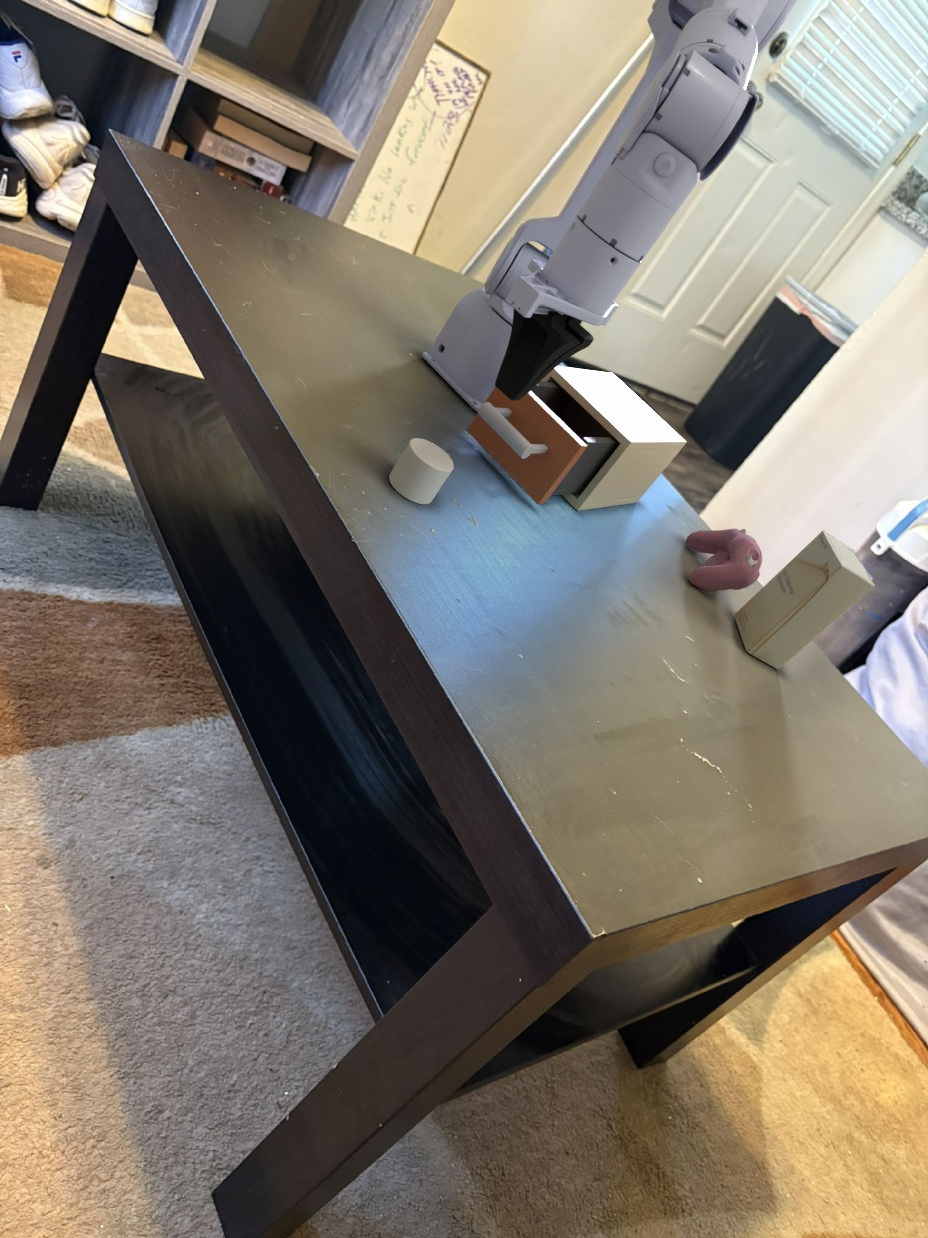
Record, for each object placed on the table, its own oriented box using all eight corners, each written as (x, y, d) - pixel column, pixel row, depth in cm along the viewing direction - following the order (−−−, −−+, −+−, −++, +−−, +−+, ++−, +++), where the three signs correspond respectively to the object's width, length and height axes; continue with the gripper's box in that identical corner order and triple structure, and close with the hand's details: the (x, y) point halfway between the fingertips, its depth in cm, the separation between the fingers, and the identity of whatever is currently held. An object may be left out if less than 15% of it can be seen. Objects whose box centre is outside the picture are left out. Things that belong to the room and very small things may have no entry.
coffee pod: (379, 472, 69) (400, 437, 68) (411, 470, 73) (432, 437, 71) (409, 506, 68) (432, 471, 66) (440, 503, 71) (463, 470, 69)
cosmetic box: (731, 615, 88) (820, 526, 82) (765, 633, 90) (854, 548, 83) (746, 654, 83) (841, 563, 77) (781, 673, 84) (877, 585, 78)
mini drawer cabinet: (577, 511, 86) (631, 442, 81) (501, 434, 89) (549, 364, 85) (636, 503, 96) (687, 441, 92) (567, 434, 100) (612, 372, 96)
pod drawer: (512, 507, 76) (557, 446, 72) (439, 430, 79) (478, 367, 76) (601, 497, 89) (642, 445, 86) (534, 431, 92) (572, 378, 89)
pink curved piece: (705, 612, 89) (772, 585, 86) (686, 576, 87) (754, 548, 85) (699, 567, 97) (761, 541, 95) (682, 534, 96) (744, 507, 93)
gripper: (607, 219, 70) (514, 361, 77) (524, 188, 58) (422, 360, 65) (673, 272, 68) (571, 412, 75) (601, 252, 56) (488, 421, 63)
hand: (506, 392), depth 70 cm, fingers closed
